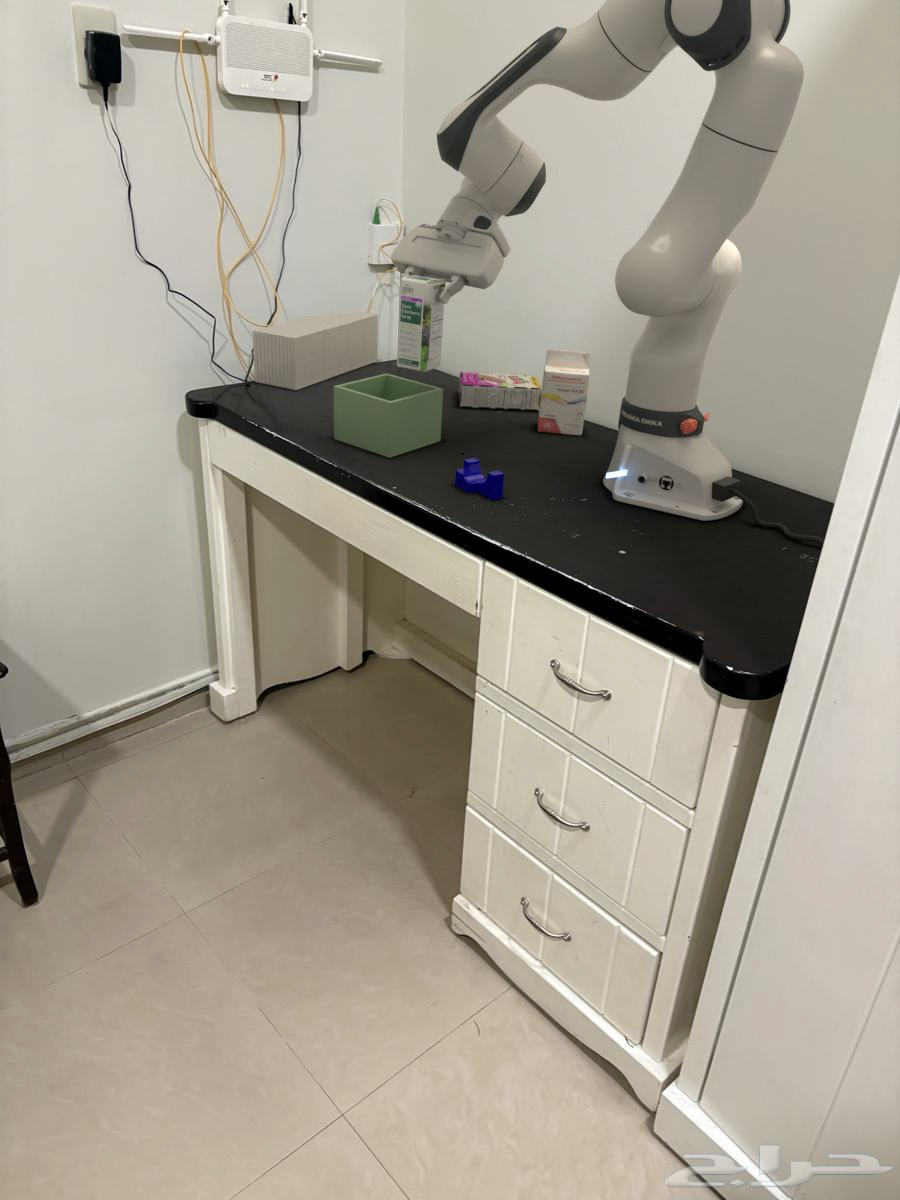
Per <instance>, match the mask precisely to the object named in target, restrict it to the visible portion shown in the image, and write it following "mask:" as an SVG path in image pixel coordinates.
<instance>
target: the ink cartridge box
mask: <svg viewBox="0 0 900 1200" xmlns="http://www.w3.org/2000/svg"><path fill="white" fill-rule="evenodd" d="M567 356H569V357H570V358H574V360H570V359H562V357H563V358H564V357H567ZM590 357H591V354H590V353H589V352H588V351H576V350H565V349H554V348H553V349H552V348H548V349H547V351H546V355H545V365H544V367H543V373H542V374H543V375H542V384H541V399H540V408H539V411H538V419H537V432H538V433H539V432H541V433H551V434H562V435H570V436H571V435H573V436H582V435H583V431H584V422H585V416H586V407H587V399H588V391H589V384H590V369H589V364H590Z"/></svg>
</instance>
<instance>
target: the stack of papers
mask: <svg viewBox="0 0 900 1200" xmlns="http://www.w3.org/2000/svg"><path fill="white" fill-rule="evenodd" d="M308 316H309V317H308ZM308 316H304V317H300V318H296V319H292V320H289V321H285V322H280V323H276V324H271V325H269V326H265V327H261V328H256V329H254V330H253V329H252V330H251V331H252V332H251V333H252V349H253V351H252V352H253V369H254V371H253V372H254V382H256V383H259V384H262V385H263V384H264V385H268V386H273V387H279V388H283V389H284V388H285V389H288V390H293V391H298V390H301V389H303V388H306V387H309V386H312V385H315V384H319V383H321V382H323V381H327V380H329V379H331V378H334V377H337V376H340V375H342V374H345V373H348V372H351V371H354V370H356V369H359V368H362V367H365V366H368V365H371V364H374V363H376V362H378V342H379V341H378V339H379V338H378V334H379V333H378V331H379V330H378V329H379V328H378V327H379V317H378V316H379V314H376V313H370V312H363V311H358V312H352V313H343V314H342V313H339V314H334V315H333V314H330V315H320V316H311V315H308Z"/></svg>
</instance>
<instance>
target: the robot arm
mask: <svg viewBox="0 0 900 1200" xmlns="http://www.w3.org/2000/svg"><path fill="white" fill-rule="evenodd" d="M790 20H791V1H790V0H605V2H604V3H603V4H602V5H601V6H600V7H599V9H598V10H597V11H596V12H595V13H594V14H592V16H591V17H590V18H588V19H587V20H585V21H584V22H582V23H580V24H578V25H575V26H573V27H570V28H566V27H561V26H556V27H553V28H551V29H550V30H547V32H545V33H543V34H542V35H540V36H539V37H538V38H536V40H534V41H533V42H532V43H531V44H530V45H528V46H527V47H526V48H524V50H522V51H521V52H520V53H519V54H518V55H516V56H515V57H514V58H513V59H512V60H511V61H510V62H509V63H507V64H506V65H505V66H504V67H503V68H502V69H501V70H499V71H498V72H497V73H496V75H494V76H493V77H492V78H490V80H488V81H487V82H486V83H485V84H483V86H481V88H479V89H478V90H477V91H476V92H475V93H473V94H472V95H471V96H469V97H468V98H466V99H465V100H464V101H463V102H461V103H460V104H458V105H457V106H455V107H454V108H453V109H452V110H451V111H450V112H448V114H447V115H446V116H445V117H444V119H443V120H442V122H441V123H440V126H439V129H438V131H437V133H436V143H437V149H438V153H439V156H440V160H441V161H443V162H444V163H445V164H446V165H448V166H449V167H450V168H452V169H453V170H455V171H456V172H459V173H460V174H461V175H462V176H464V178H463V180H462V181H461V185H460V189H459V190H458V192H457V193H456V194H455V195H453V196H452V198H451V199H450V201H449V202H448V204H447V205H446V207H445V208H444V210H443V212H442V214H441V215H440V217H439V218H438V220H437V222H436V224H435V225H434V224H433V225H431V224H428V223H421V224H420V225H418V226H416V227H413V228H412V229H410V230H409V231H408V232H407V233H406V234H405V235H404V236H403V238H402V239H401V240H400V241H399V242H398V243H397V245H396V247H395V248H394V249H393V251H392V252H391V255H390V260H391V262H392V264H393V266H394V267H395V269H396V271H398V272H399V273H400V274H404V277H407V276H411V275H416V276H422V277H429V278H435V279H443V280H445V281H446V283H448V284H447V285H445V288H444V289H442V288H440V289H439V290H438V293H437V294H436V300H438V302H439V303H443V304H444V305H447V304H448V303H449V301H450V299H451V298H452V297H454V296H455V295H456V294H458V293H459V292H461V291H463V289H464V287H466V286H467V287H471V288H475V289H481V290H487V289H488V288H489V287H491V286H493V284H494V282H495V281H496V280H497V278H498V276H499V274H500V272H501V270H502V269H503V266H504V265H505V264H504V263H505V258H507V256H508V255H510V252H511V247H510V244H509V242H508V239H507V237H506V236H505V234H504V232H503V230H502V228H501V227H500V225H499V224H498V222H499V220H500V219H501V217H502V216H503V217H506V218H507V217H513V216H518V215H522V214H524V213H527V211H528V210H529V209H530V208H531V207H532V206H533V204H534V202H535V201H536V199H537V198H538V196H539V194H540V193H541V191H542V189H543V188H544V186H545V184H546V183H547V167H546V162H545V161H544V160H543V158H541V156H540V155H539V154H538V153H537V152H536V151H535V150H534V149H533V148H531V146H529V145H528V144H527V143H526V142H525V141H524V140H522V139H521V138H520V137H519V136H517V135H516V133H514V132H513V131H512V130H511V129H510V128H509V127H507V125H506V124H504V123H503V121H501V120H500V119H499V118H498V116H497V115H498V114H499V113H500V112H501V111H503V110H504V109H505V108H506V107H508V106H509V105H510V103H512V102H513V101H515V100H516V99H517V98H518V97H519V96H520V95H521V94H522V93H524V92H525V91H526V90H527V89H529V88H531V87H533V86H536V85H548V86H553V87H557V88H561V89H563V90H566V91H569V92H571V93H574V94H576V95H577V96H580V97H583V98H585V99H588V100H593V101H599V102H601V101H602V102H609V101H610V102H611V101H616V100H620V99H623V98H625V97H626V96H628V95H629V94H630V93H632V92H633V91H634V90H635V89H636V88H638V87H639V86H640V85H641V84H642V83H643V82H644V81H645V80H646V79H647V78H648V77H649V76H650V75H651V73H653V71H654V70H655V69H656V68H657V67H658V66H659V65H660V64H661V62H662V61H663V60H664V59H665V58H666V57H667V56H668V55H669V54H670V53H671V52H672V51H673V50H675V48H677V47H679V48H680V49H681V50H682V51H683V52H685V53H686V54H687V55H688V56H689V57H690V58H691V59H692V60H693V61H694V62H695V63H696V64H697V65H698V66H700V68H701V69H702V70H703V71H705V72H714V76H715V84H714V91H713V94H712V97H711V99H710V102H709V104H708V107H707V110H706V112H705V114H704V116H703V118H702V121H701V123H700V126H699V128H698V130H697V133H696V136H695V137H694V140H693V143H692V146H691V147H690V150H689V153H688V155H687V157H686V160H685V162H684V165H683V167H682V169H681V171H680V173H679V175H678V178H677V180H676V182H675V184H674V185H673V187H672V189H671V191H670V193H669V194H668V196H667V197H666V199H665V201H664V202H663V204H662V205H661V207H660V208H659V210H658V211H657V213H656V214H655V216H654V217H653V219H652V221H651V222H650V224H649V226H647V228H646V230H645V231H644V233H643V234H642V235H641V237H640V238H639V239H638V240H637V241H636V243H635V244H634V245H633V246H632V247H631V248H629V249H628V250H627V251H626V252H625V253H624V254H623V256H622V257H621V258H620V260H619V262H618V263H617V266H616V271H615V277H614V285H615V290H616V293H617V297H618V299H619V300H620V301H621V302H620V303H622V304H623V306H624V307H625V308H627V310H629V311H630V312H632V313H634V314H638V315H642V316H645V317H648V320H647V322H646V325H645V327H644V329H643V330H642V333H641V334H640V336H639V338H638V339H637V340H636V341H635V343H634V345H633V347H632V350H631V352H630V359H629V365H628V372H627V373H628V374H627V381H626V388H625V394H624V395H625V396H624V397H623V398H621V403H620V404H621V405H620V409H619V415H618V424H617V425H618V426H617V427H618V435H617V438H616V443H615V447H614V450H613V454H612V456H611V460H610V463H609V466H608V468H607V470H606V472H605V475H604V477H603V478H602V479H603V480H602V483H603V485H604V487H605V488H606V489H607V490H608V491H609V492H611V494H612V495H611V496H612V499H613V500H614V501H617V502H619V503H624V504H629V505H633V506H638V507H643V508H646V509H650V510H655V511H659V512H663V513H668V514H673V515H676V516H681V517H684V518H689V519H694V520H699V521H704V522H706V521H714V520H720V519H724V518H726V517H729V516H731V515H733V514H734V513H736V512H737V511H739V510H740V509H741V508H742V506H743V504H744V503H745V504H746V505H747V507H748V508H749V509H750V511H751V514H752V519H753V521H754V523H755V524H756V525H758V526H759V527H762V528H768V529H770V528H771V529H778V530H781V531H782V533H783V534H784V535H785V536H786V538H788V539H791V540H795V541H803V542H814V543H817V544H820V545H821V546H823V540H825V538H822V537H820V536H816V535H811V534H810V535H809V534H798V533H794V532H792V531H790V529H789V528H788V527H787V526H786V525H785V524H783V523H781V522H777V521H776V522H775V521H774V522H773V521H764V520H762V519H761V518H760V516H759V513H758V508H757V506H756V504H755V503H754V502H753V501H752V500H751V499H750V498H749V497H747V496H746V494H743V493H742V492H740V486H741V482H742V480H741V479H739V478H735V477H733V471H732V465H731V462H730V461H729V459H728V458H727V457H725V456H724V454H723V453H722V452H721V451H720V450H719V449H718V448H717V447H716V445H714V443H713V442H712V441H711V440H710V439H709V437H708V436H707V435H706V434H705V432H704V431H703V430H704V427H705V426H704V425H705V423H706V422H708V421H709V420H710V419H709V417H710V415H711V413H710V412H708V413H705V414H703V413H702V412H701V410H700V409H699V407H698V405H697V402H698V396H699V390H700V384H701V380H702V375H703V370H704V363H705V360H706V356H707V352H708V350H709V348H710V347H709V346H710V344H711V341H712V339H713V336H714V333H715V331H716V328H717V325H718V323H719V320H720V319H721V315H722V313H723V309H724V307H725V305H726V303H727V300H728V298H729V296H730V295H731V294H732V292H733V290H734V289H735V288H736V286H737V285H738V283H739V281H740V280H741V279H740V278H741V276H742V271H743V261H742V257H741V253H740V251H739V249H738V248H737V246H736V245H735V244H734V243H733V241H731V240H729V239H728V238H729V236H731V234H732V233H733V231H734V230H735V229H736V227H737V226H738V225H739V223H740V222H742V220H743V219H744V218H745V217H746V216H747V215H748V214H749V213H750V211H752V209H753V207H754V206H755V203H756V200H757V198H758V196H759V195H760V192H761V190H762V189H763V185H764V183H765V182H766V179H767V177H768V175H769V173H770V171H771V168H772V166H773V164H774V162H775V160H776V159H777V155H778V153H779V151H780V149H781V146H782V144H783V142H784V140H785V138H786V136H787V133H788V130H789V127H790V125H791V122H792V119H793V116H794V113H795V111H796V108H797V104H798V101H799V97H800V94H801V90H802V87H803V83H804V78H805V72H804V65H803V63H802V61H801V59H800V58H799V56H798V55H797V54H796V53H795V52H794V51H792V50H791V49H790V48H789V47H787V46H785V45H783V44H781V41H782V40H783V38H784V37H785V34H786V32H787V30H788V27H789V25H790Z"/></svg>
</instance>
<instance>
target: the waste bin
mask: <svg viewBox="0 0 900 1200" xmlns="http://www.w3.org/2000/svg"><path fill="white" fill-rule="evenodd" d="M443 396H444V388H441V387H439V386H434V385H432V384H431V385H430V384H427V383H423V382H420V381H416V380H412V379H409V378H404V377H401V376H397V375H394V374H390V373H382V374H378V375H374V376H370V377H366V378H362V379H357V380H354V381H350V382H345V383H341V384H336V385H333V439H334V440H336V441H339V442H342V443H345V444H348V445H351V446H353V447H357V448H359V449H362V450H366V451H369V452H372V453H374V454H377V455H380V456H382V457H386V458H389V459H390V458H393V457H396V456H399V455H403V454H405V453H408V452H411V451H414V450H417V449H420V448H424V447H427V446H430V445H433V444H435V443H439V442H441V441H442V438H441V437H442V420H443V419H442V418H443V399H444V397H443Z"/></svg>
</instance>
